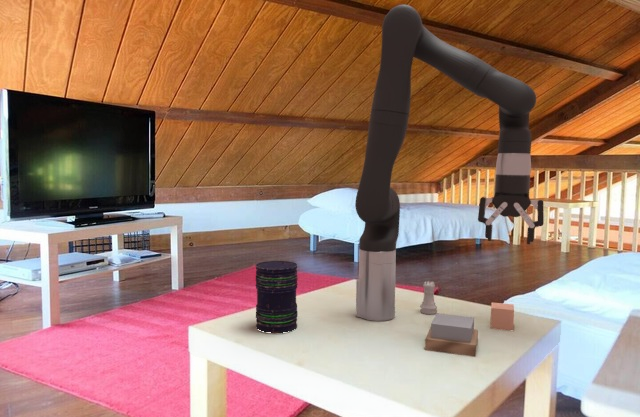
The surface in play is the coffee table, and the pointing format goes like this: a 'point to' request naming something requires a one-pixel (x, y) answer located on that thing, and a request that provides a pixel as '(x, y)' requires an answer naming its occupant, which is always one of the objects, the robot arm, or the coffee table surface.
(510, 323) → the terracotta cube
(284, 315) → the storage jar
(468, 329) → the slate top block
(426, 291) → the rook chess piece
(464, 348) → the walnut base slab
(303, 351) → the coffee table surface
